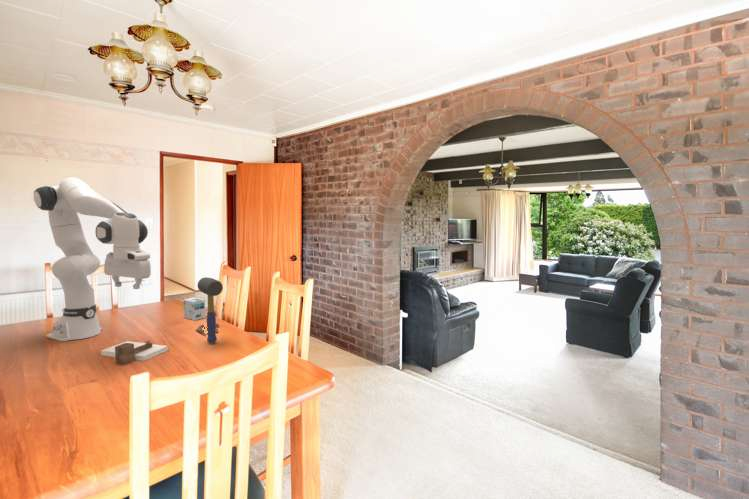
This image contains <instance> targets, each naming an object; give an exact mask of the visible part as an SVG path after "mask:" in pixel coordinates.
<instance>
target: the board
mask: <svg viewBox="0 0 749 499" xmlns="http://www.w3.org/2000/svg"><path fill="white" fill-rule="evenodd" d="M124 343H132V344H134V348H136V347H139V346H142V345H144V344H146V342H139V341H137V342H136V341H130V340H129V341H128V340H127V341H124V342H120V343H119V344H118V343H117V344H116V345H113V346H110V347H107V348H105V349H102V350H101V351H100V353H101V356H104V357H110V358H116V357H115V347H116V346H118V345H121V344H124ZM152 346H153V347H150V348H148V349H145V350H143V351H141V352H138V353H136V354H135V361H140V362H141V361H142V362H146V361H148V360H150V359H152V358H154V357H156V356H158V355H161V354H163V353H165V352H167V351H169V349H168V348H169V347H168V345H161V344H153V343H152Z"/></svg>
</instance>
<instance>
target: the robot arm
mask: <svg viewBox="0 0 749 499" xmlns="http://www.w3.org/2000/svg"><path fill="white" fill-rule="evenodd" d="M33 201H34V203H35V205H36V207H37V208H38V209H40V210H41V211H48V222H49V226H50V230H51V233H52V236H53V240H54V244H55V246H56V247H58V248H59V249H60V250H61V251H62V252H63V254H64V257H61V258H59V259H58V260H56V261H55V262H54V263H53V264H52V266H51V273H52V275H53V276H54V277H55V278H56V279H57V280H58V281H59V284H60V285H61V288H62V290H63V295H64V304H65V305H64V306H65V307H64V308H63V309H61V312H63V313H62V316H61V317H59V319H58V320H56V321H55V322H54V323H53V324H52V332H49V333H48V334H46V337H47V338H48V339H52V340H56V341H59V342H67V341H72V340H73V341H74V340H81V339H88V338H92V337H94V336H98V335H100V334H101V333H102V330H103V327H101V326H100V325H101V324H100V319H99V314H98V313H96V312H97V305H96V303H95V290H94V288H93V286H91V284H90V283H89V282H90V281H89V279H88V276H90V275H92V274H94V273H95V272H96V271H98V269H99V268H100V267H101V260H100V258H99V257H98V256H97V255H95V254H94V252H93V251H92V249H91V248H90V245H89V244H88V242H87V239H86V237H85V234H84V231H83V230H84V229H83V227H82V223H81V221H80V217H79V214H80V215H84V216H89V217H91V216H93V217H98V218H99V217H100V218H105V219H106V220H102V221H100V222H99V223H98V224H97V225H96V227H95V237H96V239H97V240H98V241H99V242H100V243H102V244H104V245H105V244H106V245H112V246H113V247H112V250H113V251H110V252H108V253H107V254H106V256H105V261H104V266H103V273H104V274H105V275H106V276H111V279H112V281H113V282H114V287H115V288H120V287H122V281H120V278H121V277H124V278H131V279H134V281H135V282H134V284H132V286H133V287H132V289H133V290H140V288H141V283H142V281H143V280H144V279H148V278H150V277H151V273H152V271H151V268H152V266H151V261H150V260H149V259H150V258H151V255H150V253H149V252H147V251H145V250H143V249H141V248H140V246H141V245H140V244H141V243H143V242H144V241H145V240H146V238H147V237H148V233H149V232H148V231H149V230H148V227H147V225H146V224H145V223H144V222H143V221H141V220H140V219H138V216H137V215H135V214H133V213H130V212H127V211H125V210H124V209H123V208H122V207H120V206H119V205H118V204H116V203H115V202H112V200H109V199H107V198H105V197H104V196H102V195H101V194H100V193H98V192H97V191H96V190H94V189H93V188H92V186H90V185H89V184H88V183H87V182H85V181H83V180H82V179H80V178H78V177H74V176H72V177H71V176H70V177H65V178H64V179H62V180H61V181H60V182H59V184H58V185H50V186H48V185H46V186H41V187H38V188H36V189H34V191H33Z"/></svg>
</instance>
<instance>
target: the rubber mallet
mask: <svg viewBox="0 0 749 499" xmlns="http://www.w3.org/2000/svg"><path fill="white" fill-rule="evenodd" d="M223 288H224V287H223V283H222V282H221V281H220V280H217V279H215V278H213V277H206V276H205V277H202V278H200V279H199V281H198V283H197V289H198V290H199V291H200V292H201V293H202V294H205V295H206V296H207V313H206V322H207V327H208V336H207V339H206V340H207V343H208V344H211V345H212V344H215V343H216V342H217V340H218V339H217V333H216V331H215V326H216V324H217V318H216V313H215V302H214V300H215V299H214V297H215V296H218V295H220V294H221V293H222V292H223Z"/></svg>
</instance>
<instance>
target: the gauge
mask: <svg viewBox="0 0 749 499" xmlns="http://www.w3.org/2000/svg"><path fill="white" fill-rule="evenodd" d="M145 343H146V344H144V345H142V346H139V347H136V348H134V344H132V343H124V344H121V343H120V344H121V345H118V344H117V345H118V346H116V347H115V357H114V358H115V365H120V366H127V365H128V364H131V363H133V362H135V361H136V360H135V354H136V353H138V352H141V351H143V350H145V349H148V348H150V347H153V346H152V344H153V342H151V340H150V339H148V340H145Z"/></svg>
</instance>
